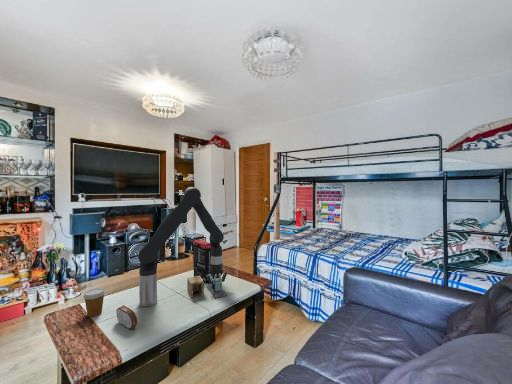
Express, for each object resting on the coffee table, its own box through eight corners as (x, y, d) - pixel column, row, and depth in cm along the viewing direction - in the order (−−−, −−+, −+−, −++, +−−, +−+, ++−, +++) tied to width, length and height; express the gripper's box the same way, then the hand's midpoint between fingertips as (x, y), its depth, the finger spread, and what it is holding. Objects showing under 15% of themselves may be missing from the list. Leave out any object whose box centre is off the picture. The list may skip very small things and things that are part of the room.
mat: (215, 298, 144) (215, 297, 144) (206, 287, 160) (206, 286, 160) (227, 295, 147) (227, 294, 147) (218, 285, 163) (218, 284, 163)
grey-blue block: (215, 291, 150) (215, 282, 150) (209, 284, 162) (209, 275, 162) (220, 290, 152) (220, 281, 152) (214, 283, 164) (214, 274, 164)
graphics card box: (213, 280, 172) (213, 242, 172) (205, 283, 167) (205, 244, 167) (200, 274, 184) (200, 239, 184) (192, 277, 179) (192, 240, 179)
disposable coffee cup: (100, 318, 123) (99, 294, 122) (79, 319, 121) (79, 296, 121) (108, 308, 132) (108, 287, 132) (89, 310, 130) (89, 288, 130)
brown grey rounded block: (138, 329, 113) (137, 311, 113) (131, 332, 110) (131, 314, 110) (121, 319, 121) (121, 303, 121) (115, 322, 119) (115, 305, 118)
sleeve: (190, 298, 144) (190, 283, 144) (187, 292, 153) (187, 277, 153) (203, 295, 148) (203, 280, 147) (199, 289, 156) (199, 275, 156)
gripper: (207, 265, 147) (207, 293, 147) (229, 262, 153) (229, 289, 153) (204, 262, 153) (204, 289, 154) (225, 259, 160) (225, 284, 160)
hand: (216, 288), depth 153 cm, fingers closed on grey-blue block, 3 cm apart
